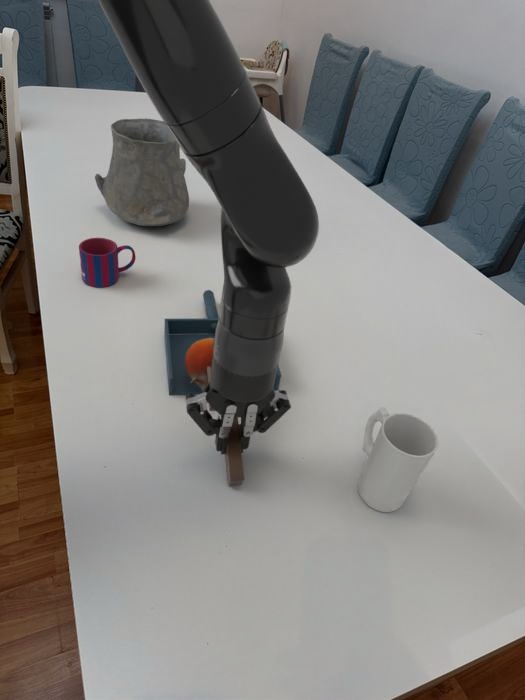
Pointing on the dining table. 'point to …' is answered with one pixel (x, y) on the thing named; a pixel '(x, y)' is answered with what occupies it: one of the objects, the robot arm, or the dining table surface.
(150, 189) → the vessel
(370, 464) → the mug
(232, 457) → the fork
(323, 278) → the dining table surface
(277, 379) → the dustpan
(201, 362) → the fruit
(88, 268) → the cup
